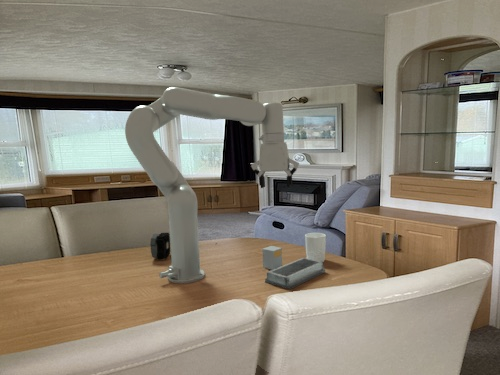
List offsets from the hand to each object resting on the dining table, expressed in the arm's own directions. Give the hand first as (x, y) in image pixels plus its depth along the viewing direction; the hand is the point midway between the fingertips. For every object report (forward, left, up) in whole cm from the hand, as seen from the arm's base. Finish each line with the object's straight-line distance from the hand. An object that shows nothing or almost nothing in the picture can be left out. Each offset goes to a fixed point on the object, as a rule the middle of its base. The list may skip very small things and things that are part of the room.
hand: (275, 187), depth 129 cm
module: (-1, +2, -30) cm, 30 cm away
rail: (-4, -11, -29) cm, 32 cm away
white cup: (+15, -6, -30) cm, 34 cm away
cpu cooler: (-21, +45, -30) cm, 58 cm away
